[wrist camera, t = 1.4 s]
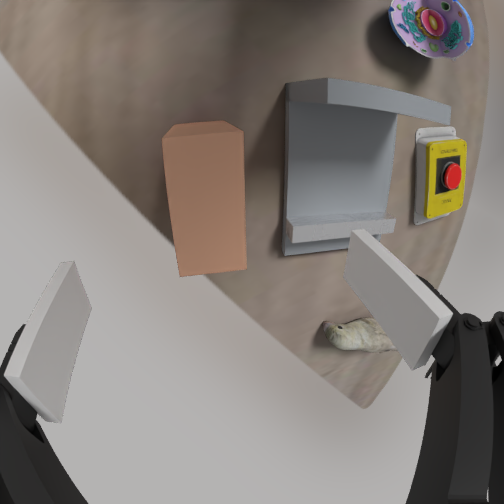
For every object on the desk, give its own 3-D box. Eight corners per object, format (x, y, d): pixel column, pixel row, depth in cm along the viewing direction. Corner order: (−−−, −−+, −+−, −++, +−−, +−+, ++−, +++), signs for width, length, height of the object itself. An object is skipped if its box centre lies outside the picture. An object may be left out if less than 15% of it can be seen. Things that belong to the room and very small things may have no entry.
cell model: (361, -7, 20) (411, -26, 12) (425, -2, 20) (474, -9, 12) (386, 63, 25) (441, 63, 17) (444, 59, 25) (495, 63, 17)
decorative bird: (328, 308, 43) (348, 342, 37) (396, 310, 48) (417, 336, 41) (315, 333, 45) (332, 366, 39) (382, 331, 50) (401, 358, 44)
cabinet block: (174, 124, 26) (161, 138, 15) (223, 120, 26) (243, 131, 16) (183, 221, 31) (181, 285, 21) (227, 216, 32) (246, 277, 22)
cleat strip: (286, 217, 32) (293, 226, 30) (385, 211, 34) (396, 218, 32) (285, 233, 33) (292, 243, 31) (383, 224, 35) (393, 232, 33)
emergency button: (473, 131, 28) (465, 223, 36) (452, 125, 31) (448, 212, 39) (434, 133, 27) (428, 237, 35) (412, 127, 31) (411, 224, 39)
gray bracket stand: (285, 83, 25) (327, 77, 17) (392, 97, 28) (451, 106, 19) (281, 250, 36) (310, 301, 27) (374, 240, 38) (416, 279, 29)
